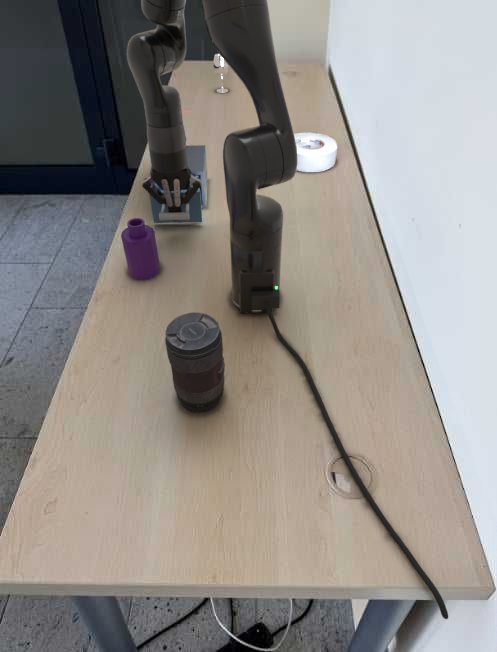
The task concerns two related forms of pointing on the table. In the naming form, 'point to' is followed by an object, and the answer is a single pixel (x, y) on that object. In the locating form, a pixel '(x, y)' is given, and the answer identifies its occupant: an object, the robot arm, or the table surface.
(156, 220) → the drawer
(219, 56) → the wineglass
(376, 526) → the table surface
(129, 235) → the bottle
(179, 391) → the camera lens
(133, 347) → the table surface
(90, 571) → the table surface
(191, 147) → the grey cabinet
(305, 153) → the tape roll
